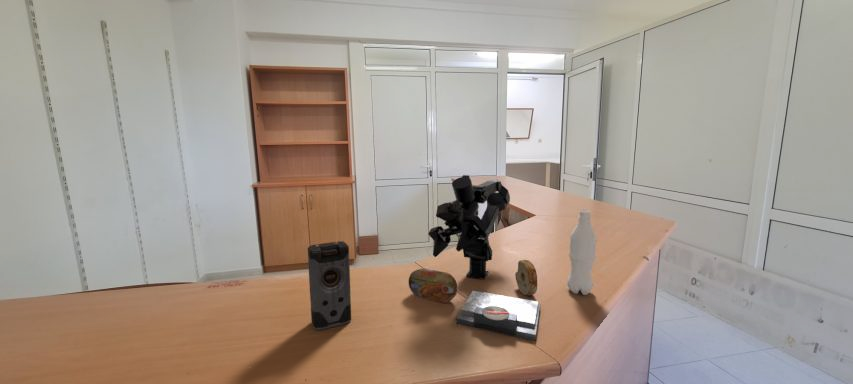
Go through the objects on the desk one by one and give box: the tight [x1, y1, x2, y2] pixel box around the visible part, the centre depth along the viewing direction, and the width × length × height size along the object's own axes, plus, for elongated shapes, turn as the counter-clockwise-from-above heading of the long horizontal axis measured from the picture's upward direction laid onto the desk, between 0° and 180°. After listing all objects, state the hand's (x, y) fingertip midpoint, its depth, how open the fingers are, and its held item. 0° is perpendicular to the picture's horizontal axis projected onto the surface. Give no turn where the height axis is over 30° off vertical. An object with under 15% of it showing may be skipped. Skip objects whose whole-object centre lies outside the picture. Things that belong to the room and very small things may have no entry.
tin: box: [408, 267, 458, 304], centre depth 96 cm, size 15×3×8 cm, turn 62°
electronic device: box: [307, 240, 352, 331], centre depth 82 cm, size 9×6×20 cm, turn 117°
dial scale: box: [455, 290, 541, 342], centre depth 85 cm, size 18×19×4 cm
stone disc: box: [514, 259, 538, 296], centre depth 99 cm, size 10×4×10 cm, turn 5°
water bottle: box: [566, 210, 597, 296], centre depth 99 cm, size 7×7×25 cm
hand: (445, 253), depth 90 cm, fingers open, 9 cm apart
